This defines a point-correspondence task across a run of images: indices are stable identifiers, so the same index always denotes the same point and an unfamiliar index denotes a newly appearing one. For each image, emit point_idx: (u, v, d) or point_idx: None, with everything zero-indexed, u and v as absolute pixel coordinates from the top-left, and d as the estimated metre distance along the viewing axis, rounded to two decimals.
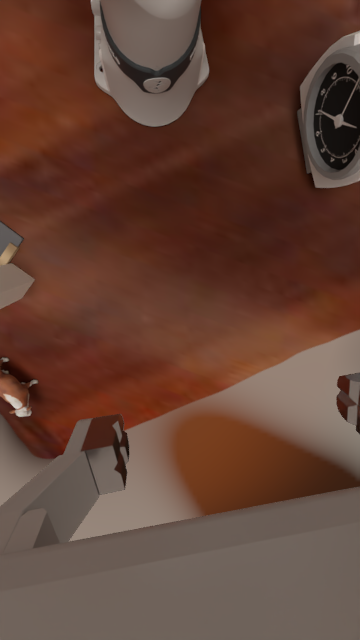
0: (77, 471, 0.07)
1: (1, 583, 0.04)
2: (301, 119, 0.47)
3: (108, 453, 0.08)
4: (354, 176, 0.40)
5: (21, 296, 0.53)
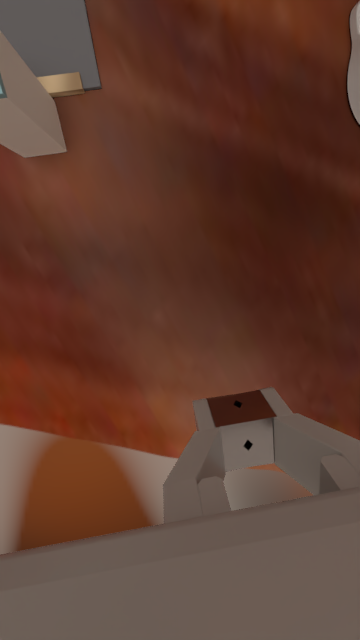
0: (217, 446, 0.08)
1: (1, 583, 0.04)
2: None
3: (240, 429, 0.08)
4: None
5: (27, 154, 0.30)
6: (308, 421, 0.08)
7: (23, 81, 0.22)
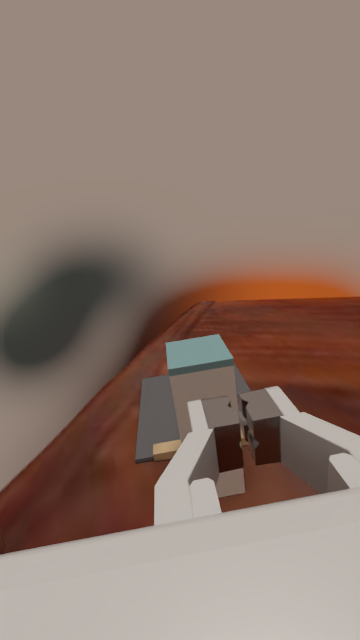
0: (210, 447, 0.08)
1: (1, 583, 0.04)
2: None
3: (234, 431, 0.08)
4: None
5: None
6: (315, 420, 0.08)
7: None
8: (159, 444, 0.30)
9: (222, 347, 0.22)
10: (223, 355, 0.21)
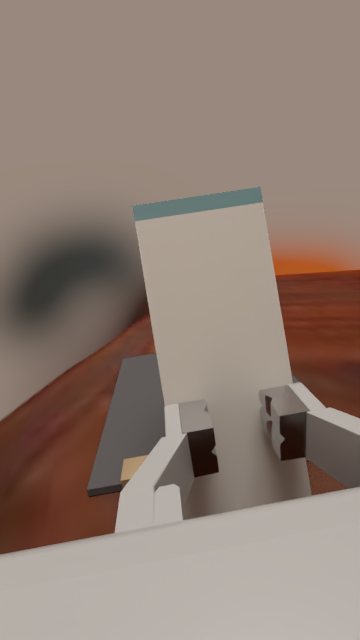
0: (182, 452, 0.08)
1: (1, 583, 0.04)
2: None
3: (208, 435, 0.08)
4: None
5: None
6: (343, 415, 0.08)
7: None
8: (135, 460, 0.16)
9: None
10: None
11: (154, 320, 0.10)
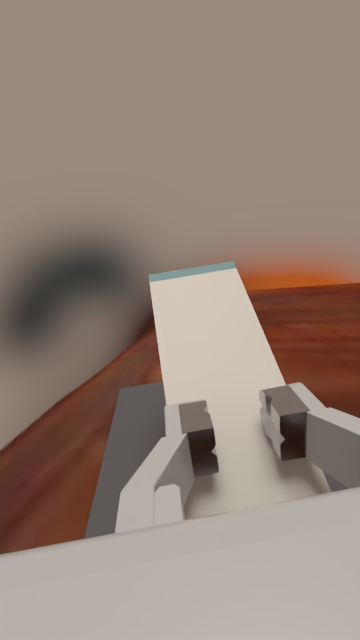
0: (182, 452, 0.08)
1: (1, 583, 0.04)
2: None
3: (208, 435, 0.08)
4: None
5: None
6: (343, 415, 0.08)
7: None
8: None
9: None
10: None
11: (160, 339, 0.13)
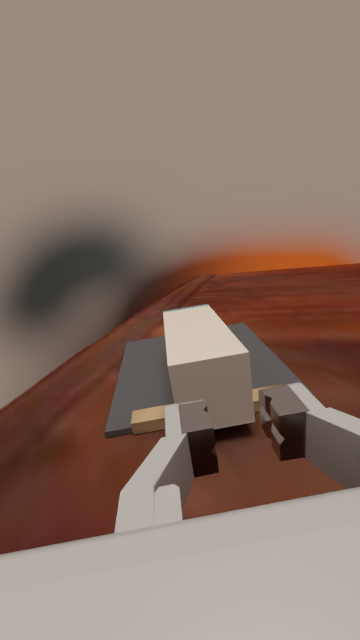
0: (182, 452, 0.08)
1: (1, 583, 0.04)
2: None
3: (208, 435, 0.08)
4: None
5: (180, 356, 0.17)
6: (342, 415, 0.08)
7: None
8: (141, 410, 0.21)
9: None
10: None
11: (165, 322, 0.25)
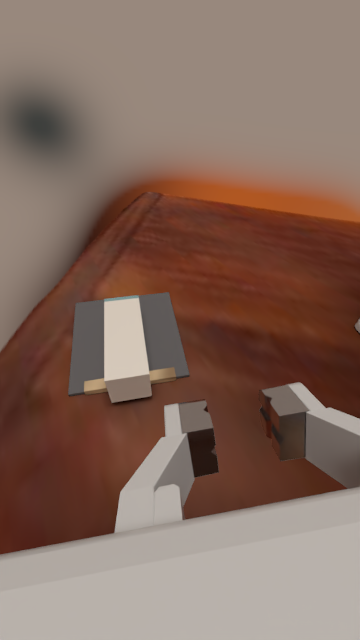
0: (182, 452, 0.08)
1: (1, 583, 0.04)
2: None
3: (208, 435, 0.08)
4: None
5: (112, 371, 0.30)
6: (342, 415, 0.08)
7: None
8: (90, 381, 0.35)
9: None
10: None
11: (105, 320, 0.36)
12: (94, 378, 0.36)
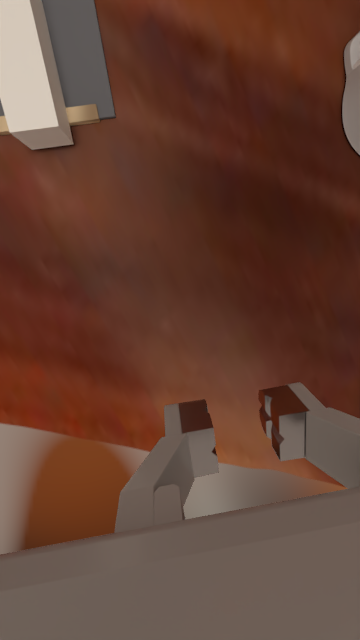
0: (182, 452, 0.08)
1: (1, 583, 0.04)
2: None
3: (208, 435, 0.08)
4: None
5: (14, 119, 0.27)
6: (342, 415, 0.08)
7: (46, 41, 0.28)
8: None
9: None
10: None
11: None
12: (3, 112, 0.31)
